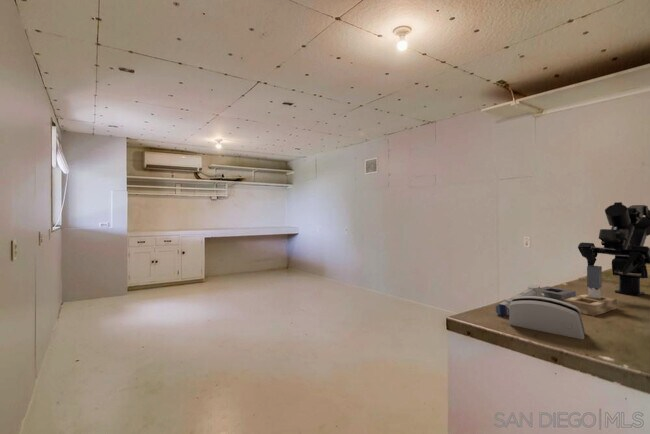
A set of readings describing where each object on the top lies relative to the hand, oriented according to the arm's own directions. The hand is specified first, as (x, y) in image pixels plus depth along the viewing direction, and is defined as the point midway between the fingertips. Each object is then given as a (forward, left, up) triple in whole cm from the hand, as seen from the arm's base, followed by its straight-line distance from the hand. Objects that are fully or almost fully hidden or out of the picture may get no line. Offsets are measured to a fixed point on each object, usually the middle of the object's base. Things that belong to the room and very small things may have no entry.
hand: (605, 271), depth 109 cm
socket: (+8, -12, -10) cm, 18 cm away
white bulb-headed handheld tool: (+28, -11, -11) cm, 32 cm away
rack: (+11, 0, -10) cm, 15 cm away
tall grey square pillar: (+8, 0, -10) cm, 13 cm away
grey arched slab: (+42, +3, -11) cm, 43 cm away
